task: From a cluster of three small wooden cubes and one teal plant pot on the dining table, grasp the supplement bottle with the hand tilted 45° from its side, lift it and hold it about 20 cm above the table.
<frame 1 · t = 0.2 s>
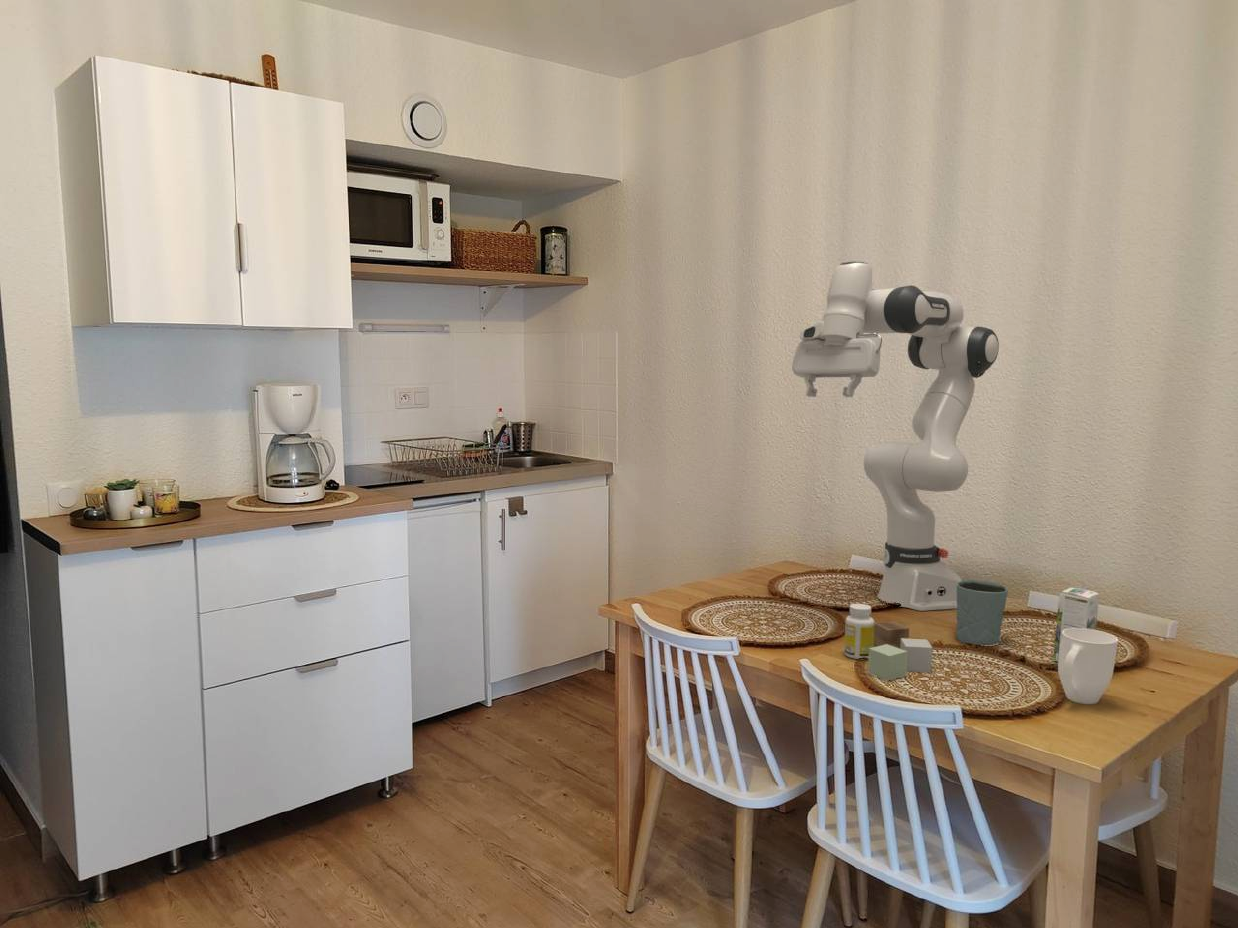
hand: (828, 396, 192), 52 cm above the table, tool tilted 20°, fingers open, 8 cm apart
mug: (1080, 702, 160), on the table
sage cube: (886, 675, 173), on the table
grey painted cube: (915, 667, 177), on the table
walnut cube: (890, 649, 188), on the table
syrup box: (1073, 663, 181), on the table
supplement bottle: (858, 656, 184), on the table
teal plant pot: (978, 641, 194), on the table
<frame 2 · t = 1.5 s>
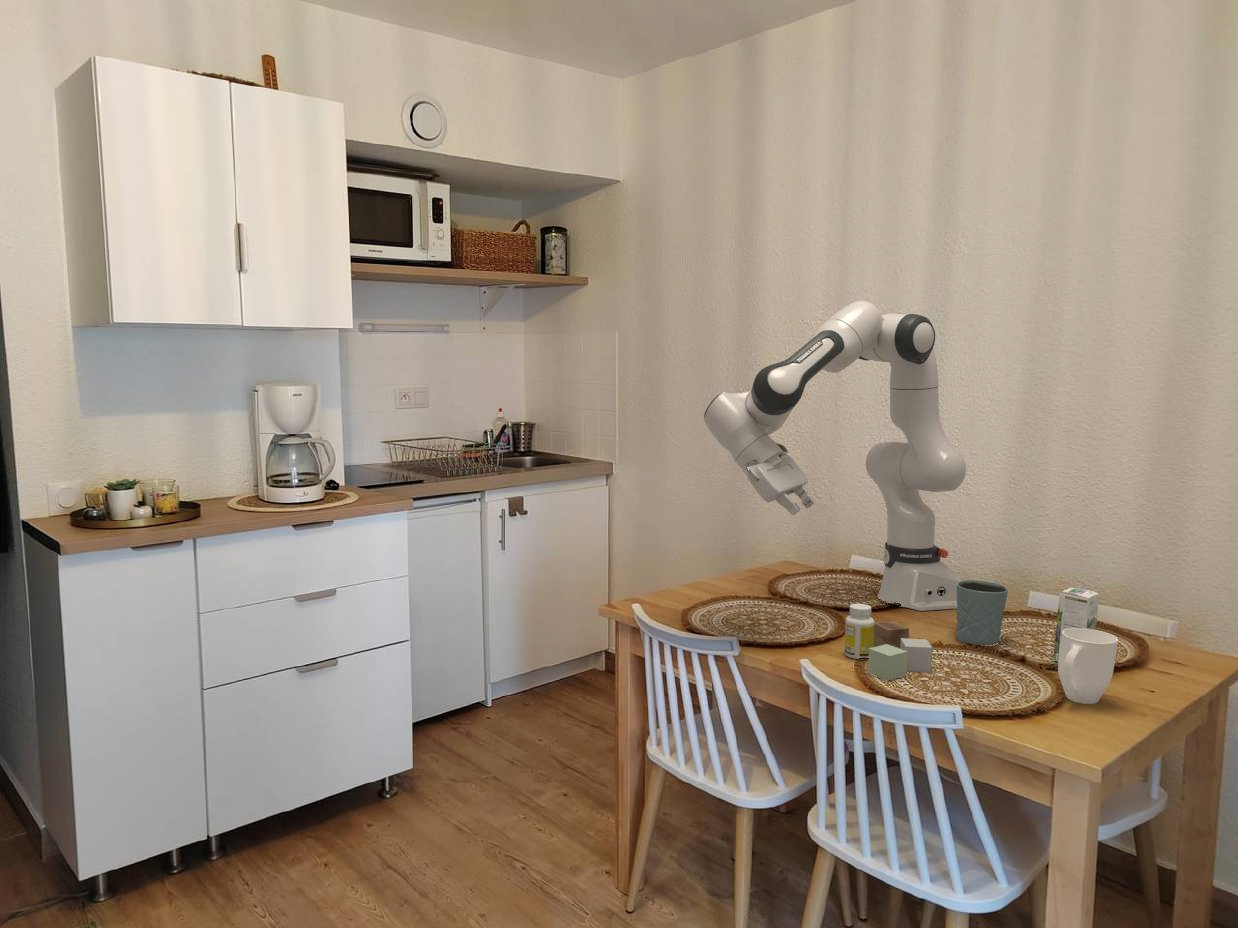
hand: (804, 509, 186), 29 cm above the table, tool tilted 45°, fingers open, 8 cm apart
nothing on the table moved.
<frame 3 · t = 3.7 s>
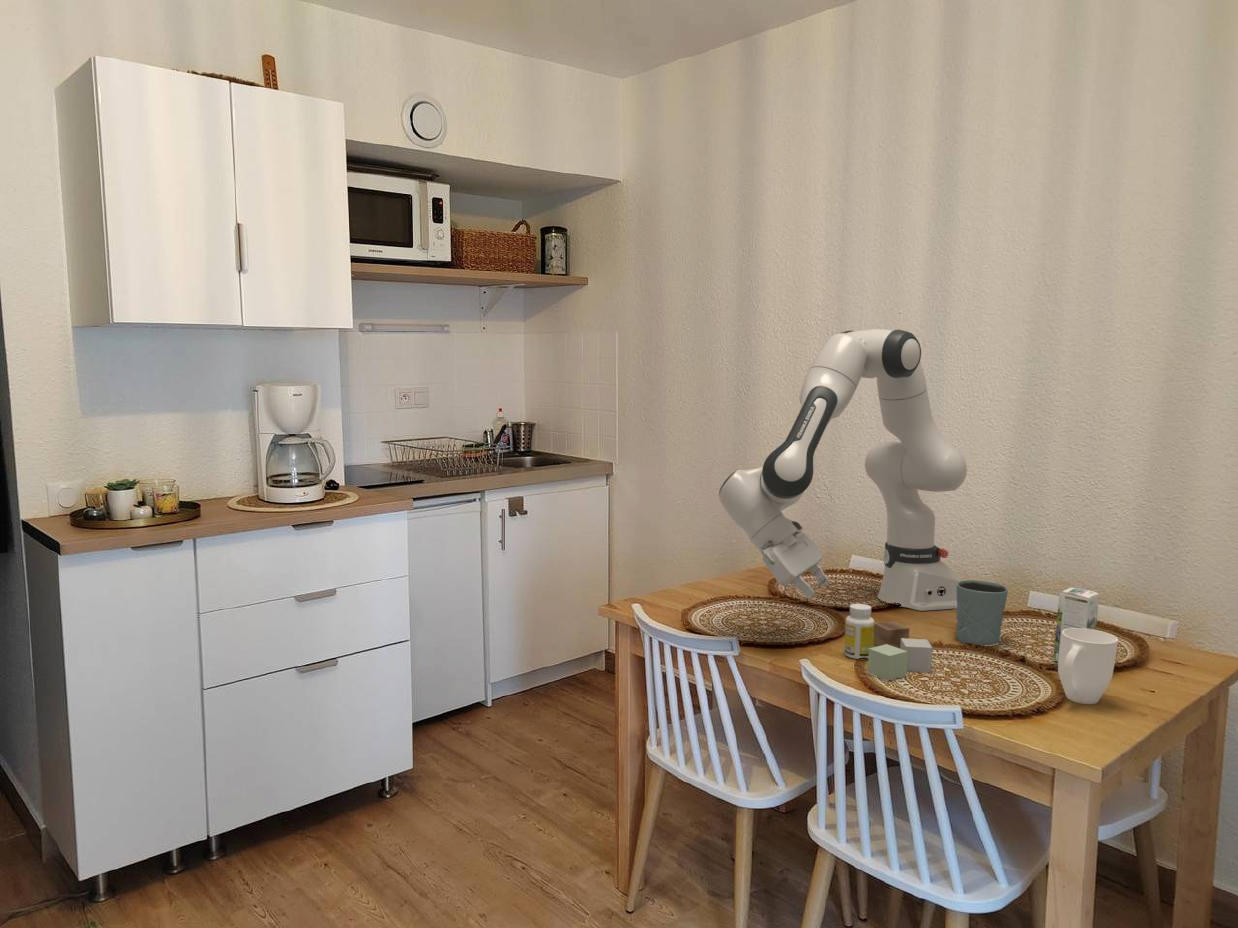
hand: (819, 589, 186), 12 cm above the table, tool tilted 45°, fingers open, 8 cm apart
nothing on the table moved.
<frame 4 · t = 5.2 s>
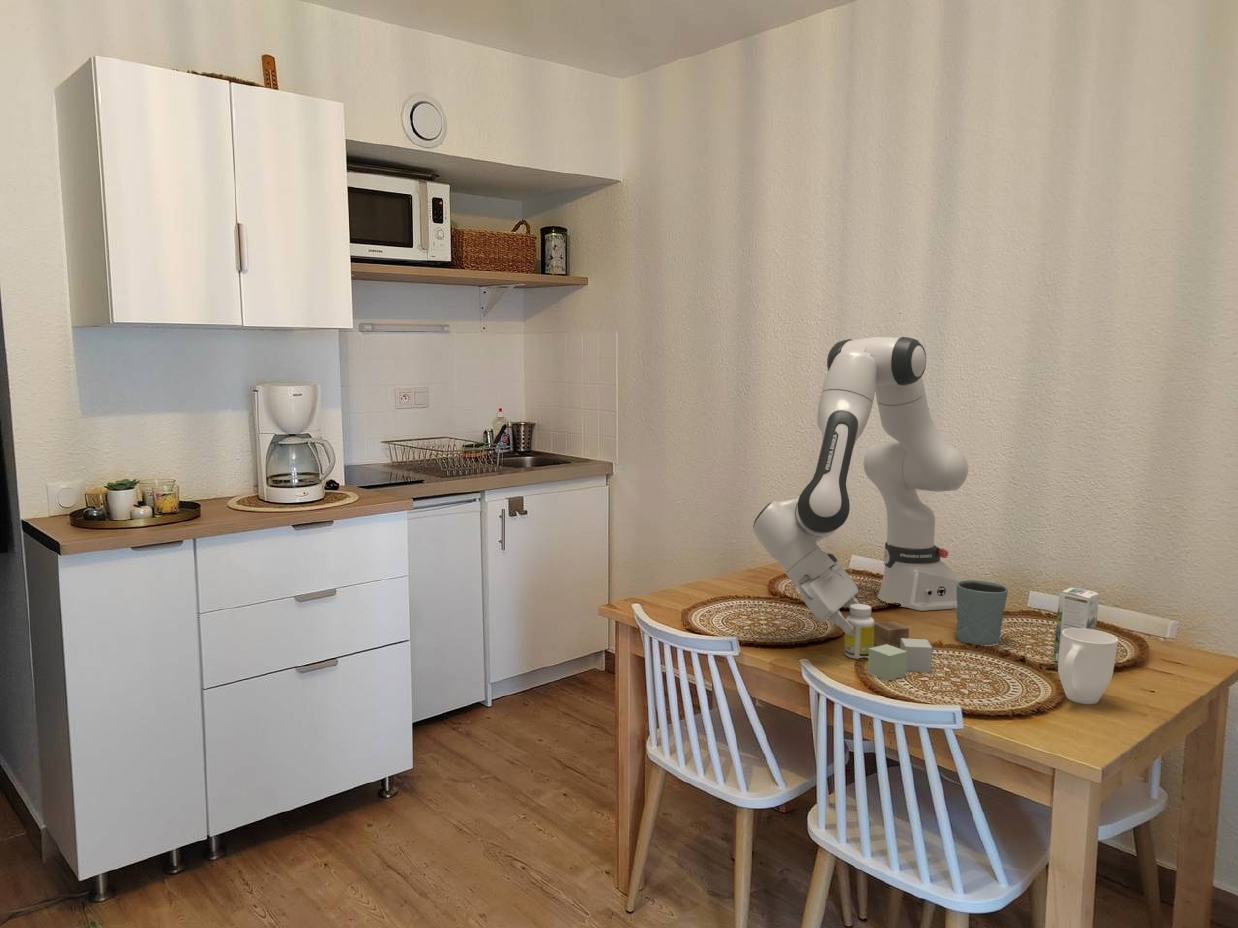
hand: (857, 624, 183), 6 cm above the table, tool tilted 45°, fingers open, 8 cm apart
nothing on the table moved.
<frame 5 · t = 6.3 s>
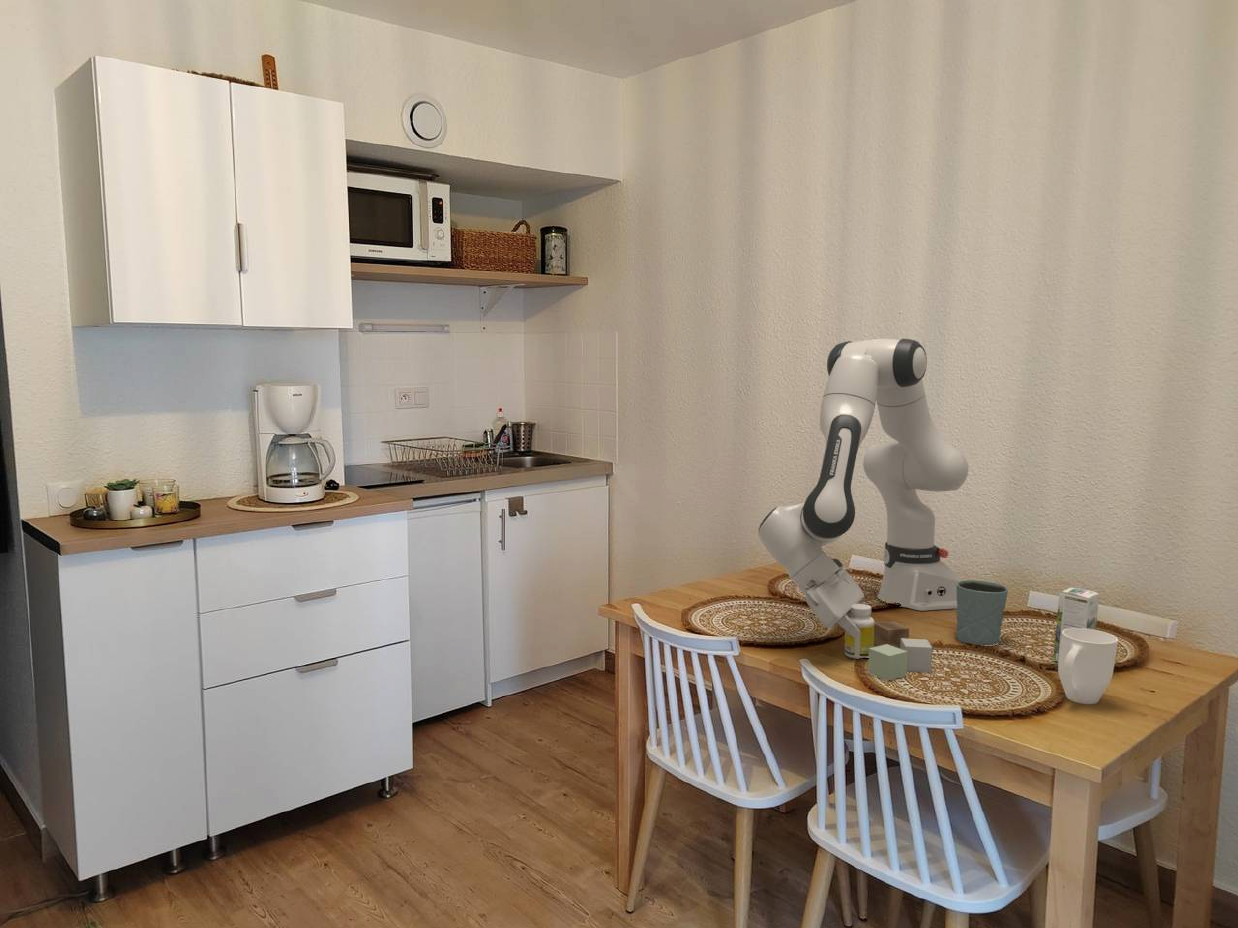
hand: (862, 630, 183), 5 cm above the table, tool tilted 45°, fingers closed on supplement bottle, 6 cm apart
supplement bottle: (858, 656, 184), on the table, touching gripper
everything else where it was.
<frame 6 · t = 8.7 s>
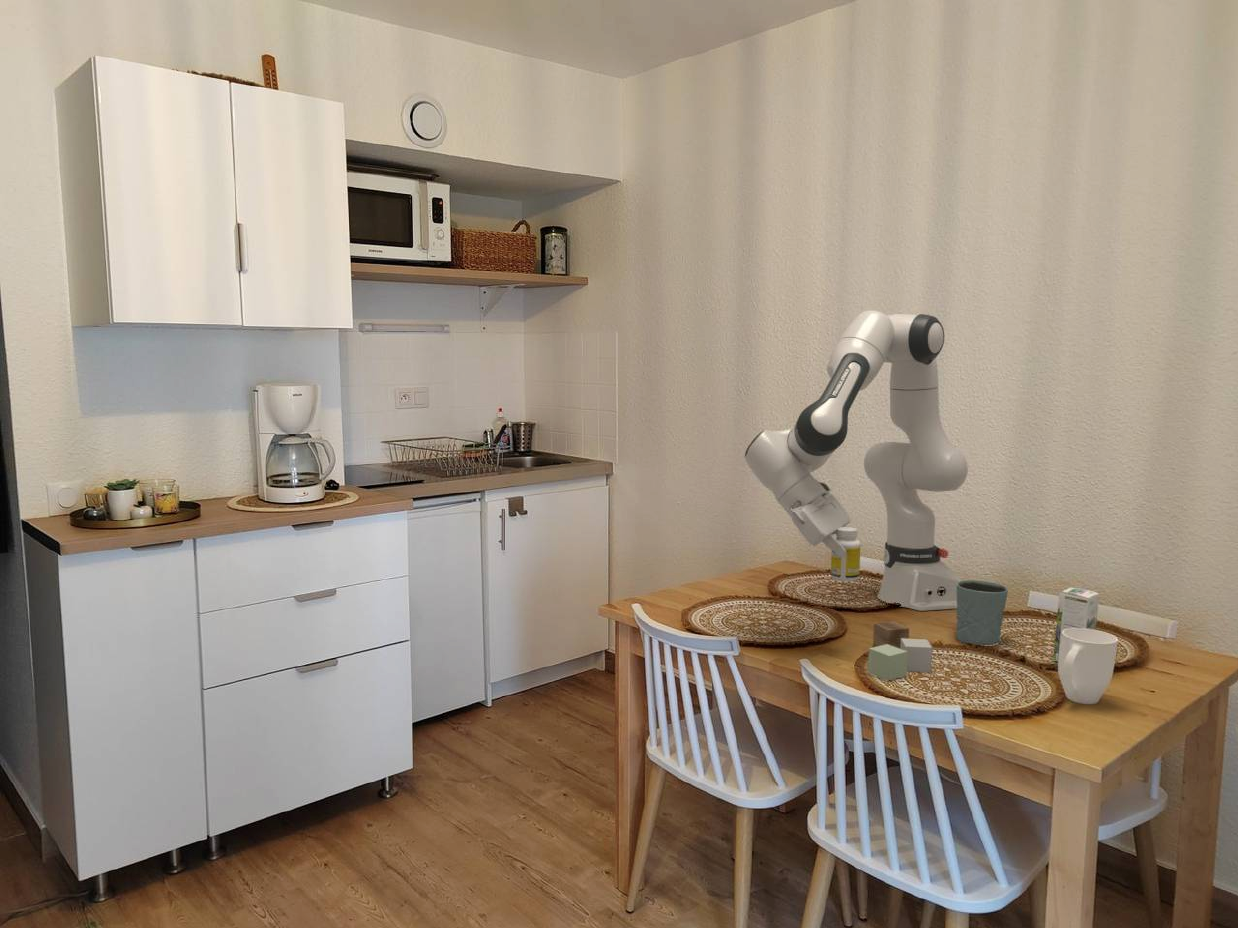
hand: (849, 551, 182), 21 cm above the table, tool tilted 45°, fingers closed on supplement bottle, 6 cm apart
supplement bottle: (844, 579, 183), point 15 cm above the table, touching gripper
everything else where it was.
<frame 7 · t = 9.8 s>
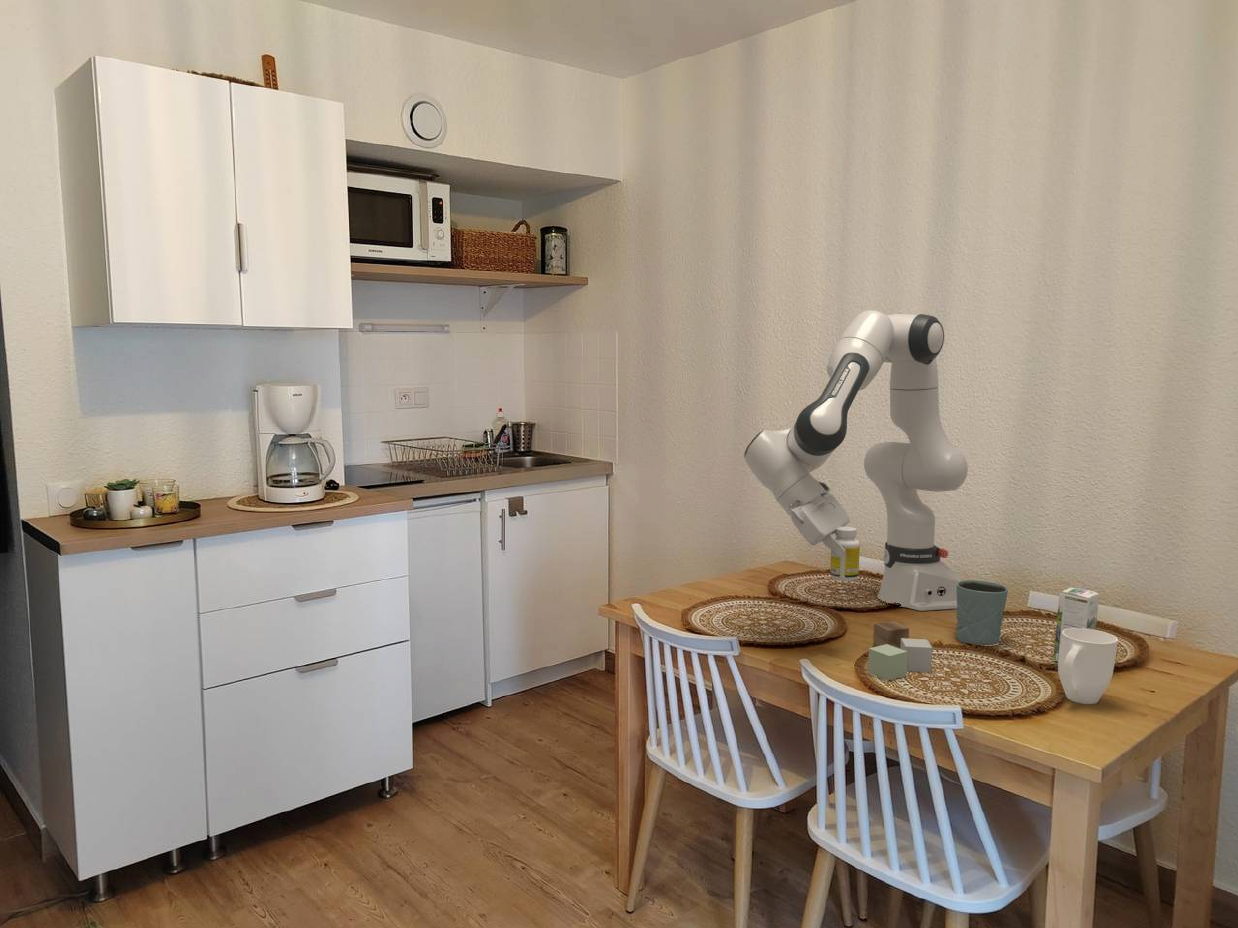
hand: (848, 550, 182), 21 cm above the table, tool tilted 45°, fingers closed on supplement bottle, 6 cm apart
supplement bottle: (844, 578, 183), point 15 cm above the table, touching gripper
everything else where it was.
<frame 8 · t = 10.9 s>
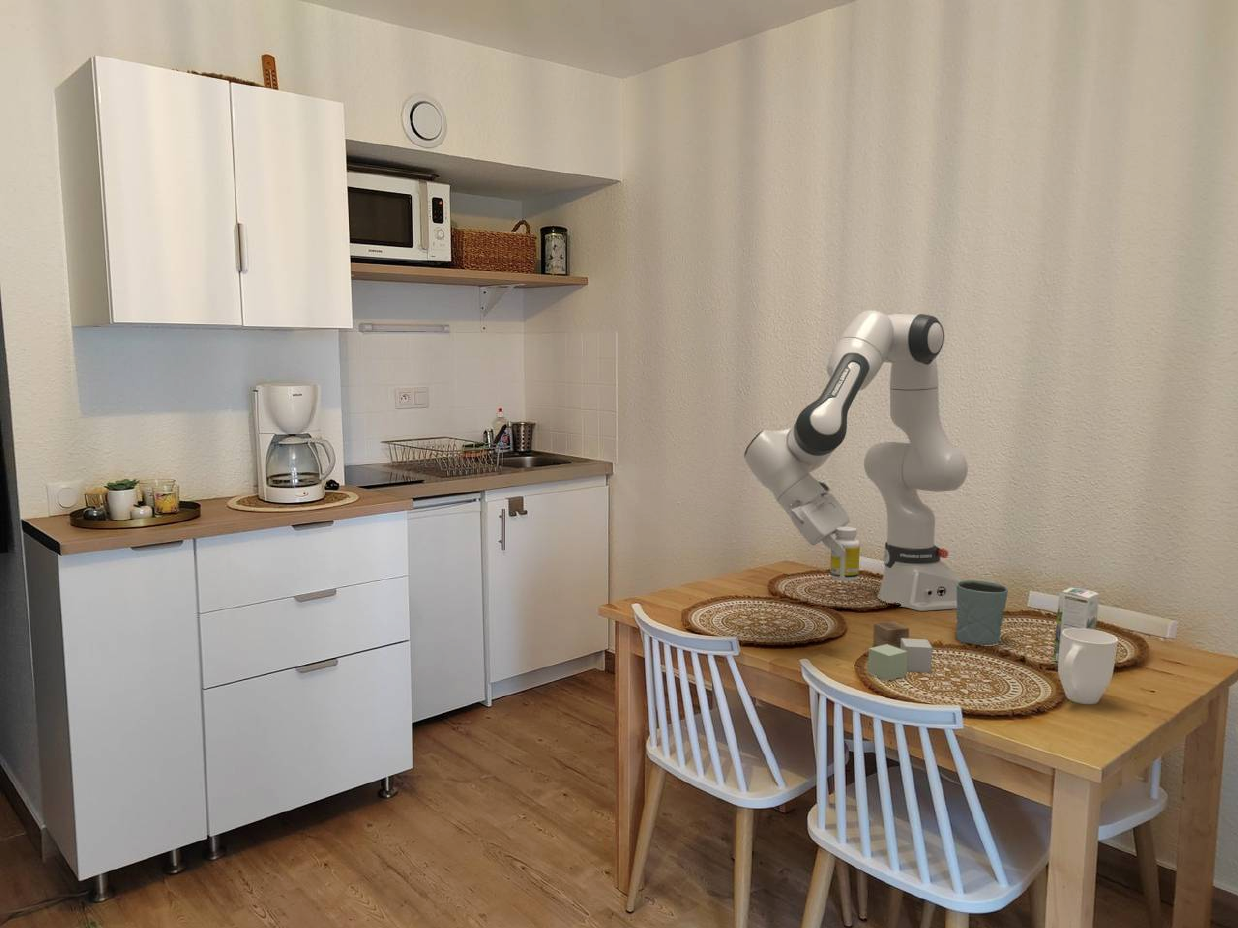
hand: (848, 550, 182), 21 cm above the table, tool tilted 45°, fingers closed on supplement bottle, 6 cm apart
supplement bottle: (844, 578, 183), point 15 cm above the table, touching gripper
everything else where it was.
at the end: the gripper is holding supplement bottle; supplement bottle point 15.4 cm above the table; walnut cube moved 0.1 cm from its start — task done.
